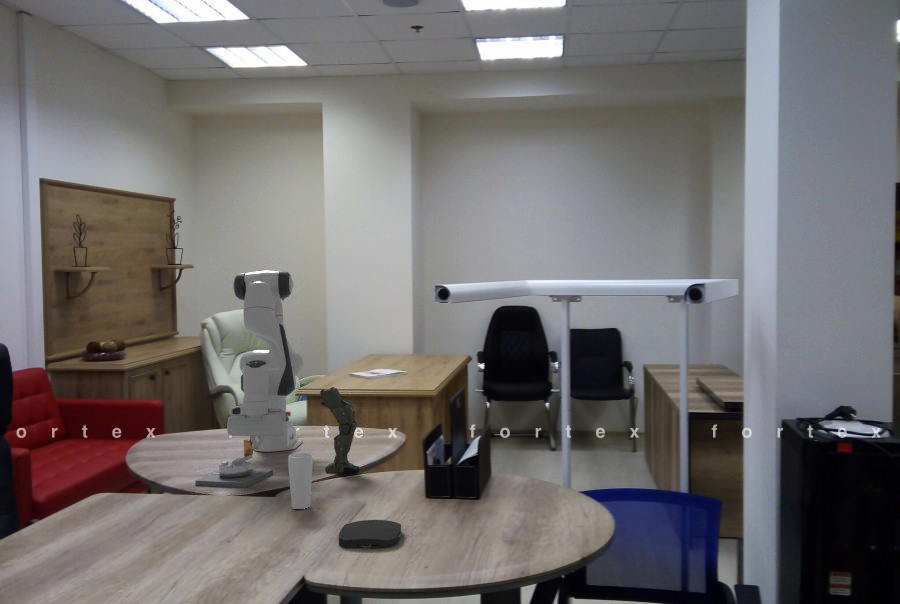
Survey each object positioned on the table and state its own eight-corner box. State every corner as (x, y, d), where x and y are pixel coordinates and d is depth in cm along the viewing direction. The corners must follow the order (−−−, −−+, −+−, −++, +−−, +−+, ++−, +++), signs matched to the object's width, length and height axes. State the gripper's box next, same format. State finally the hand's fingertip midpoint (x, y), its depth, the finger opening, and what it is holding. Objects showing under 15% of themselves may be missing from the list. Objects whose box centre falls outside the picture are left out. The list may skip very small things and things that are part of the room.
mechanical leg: (370, 466, 252) (348, 382, 252) (365, 471, 245) (343, 384, 245) (332, 475, 253) (311, 391, 254) (327, 480, 246) (305, 394, 247)
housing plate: (224, 471, 250) (224, 466, 250) (272, 473, 246) (272, 468, 246) (195, 485, 232) (195, 479, 232) (246, 487, 229) (246, 482, 229)
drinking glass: (318, 507, 206) (317, 454, 206) (298, 512, 201) (297, 458, 201) (303, 502, 211) (303, 451, 211) (284, 508, 206) (283, 455, 206)
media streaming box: (346, 530, 187) (346, 518, 187) (403, 530, 187) (402, 518, 187) (335, 550, 173) (335, 537, 173) (397, 550, 172) (397, 537, 172)
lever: (242, 478, 234) (242, 449, 233) (213, 477, 235) (213, 448, 235) (264, 466, 250) (263, 439, 250) (236, 465, 251) (236, 438, 251)
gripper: (289, 407, 250) (289, 447, 250) (232, 406, 253) (233, 446, 253) (282, 410, 244) (283, 451, 244) (224, 409, 247) (225, 450, 247)
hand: (257, 448), depth 249 cm, fingers closed
